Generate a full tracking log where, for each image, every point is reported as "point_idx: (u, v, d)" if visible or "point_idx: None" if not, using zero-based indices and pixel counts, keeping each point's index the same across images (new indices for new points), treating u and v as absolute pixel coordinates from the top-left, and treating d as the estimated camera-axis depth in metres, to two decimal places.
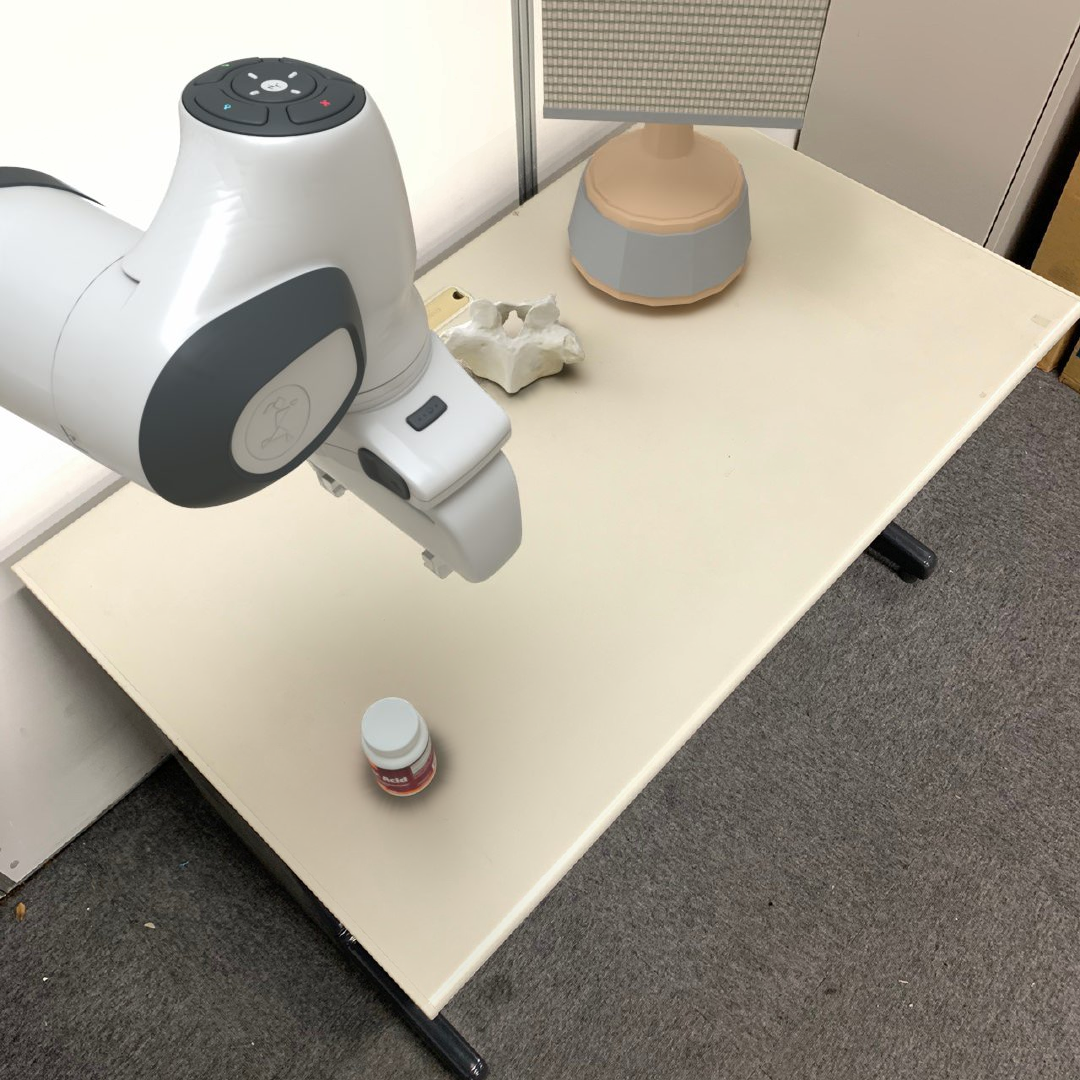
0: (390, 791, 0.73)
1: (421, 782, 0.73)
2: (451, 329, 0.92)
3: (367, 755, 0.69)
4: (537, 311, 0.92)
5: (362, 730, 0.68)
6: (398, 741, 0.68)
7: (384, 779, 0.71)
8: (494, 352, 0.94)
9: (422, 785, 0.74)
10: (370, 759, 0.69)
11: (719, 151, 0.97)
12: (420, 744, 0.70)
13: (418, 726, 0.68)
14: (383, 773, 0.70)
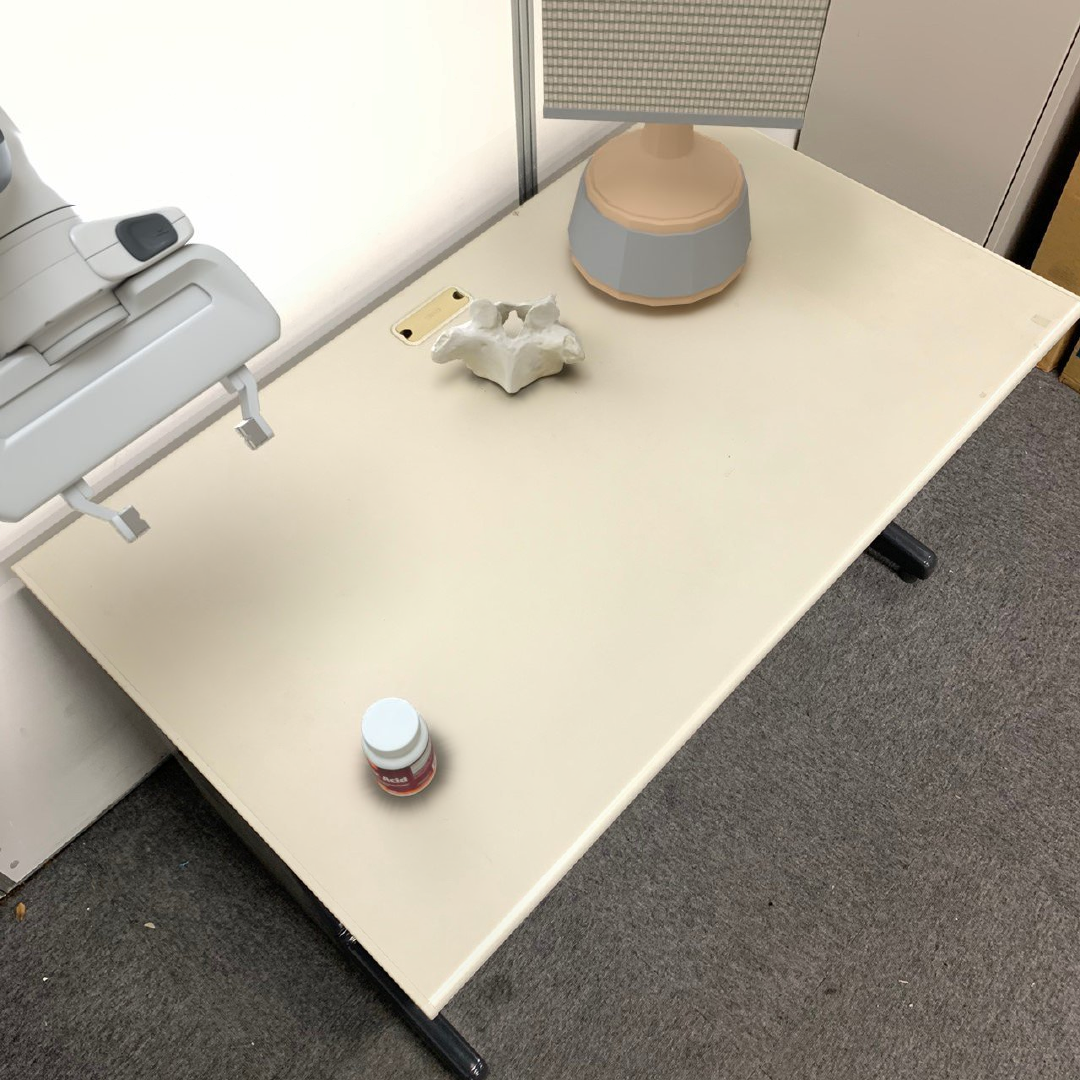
0: (390, 791, 0.73)
1: (421, 782, 0.73)
2: (451, 329, 0.92)
3: (367, 755, 0.69)
4: (537, 311, 0.92)
5: (362, 730, 0.68)
6: (398, 741, 0.68)
7: (384, 779, 0.71)
8: (494, 352, 0.94)
9: (422, 785, 0.74)
10: (370, 759, 0.69)
11: (719, 151, 0.97)
12: (420, 744, 0.70)
13: (418, 726, 0.68)
14: (383, 773, 0.70)
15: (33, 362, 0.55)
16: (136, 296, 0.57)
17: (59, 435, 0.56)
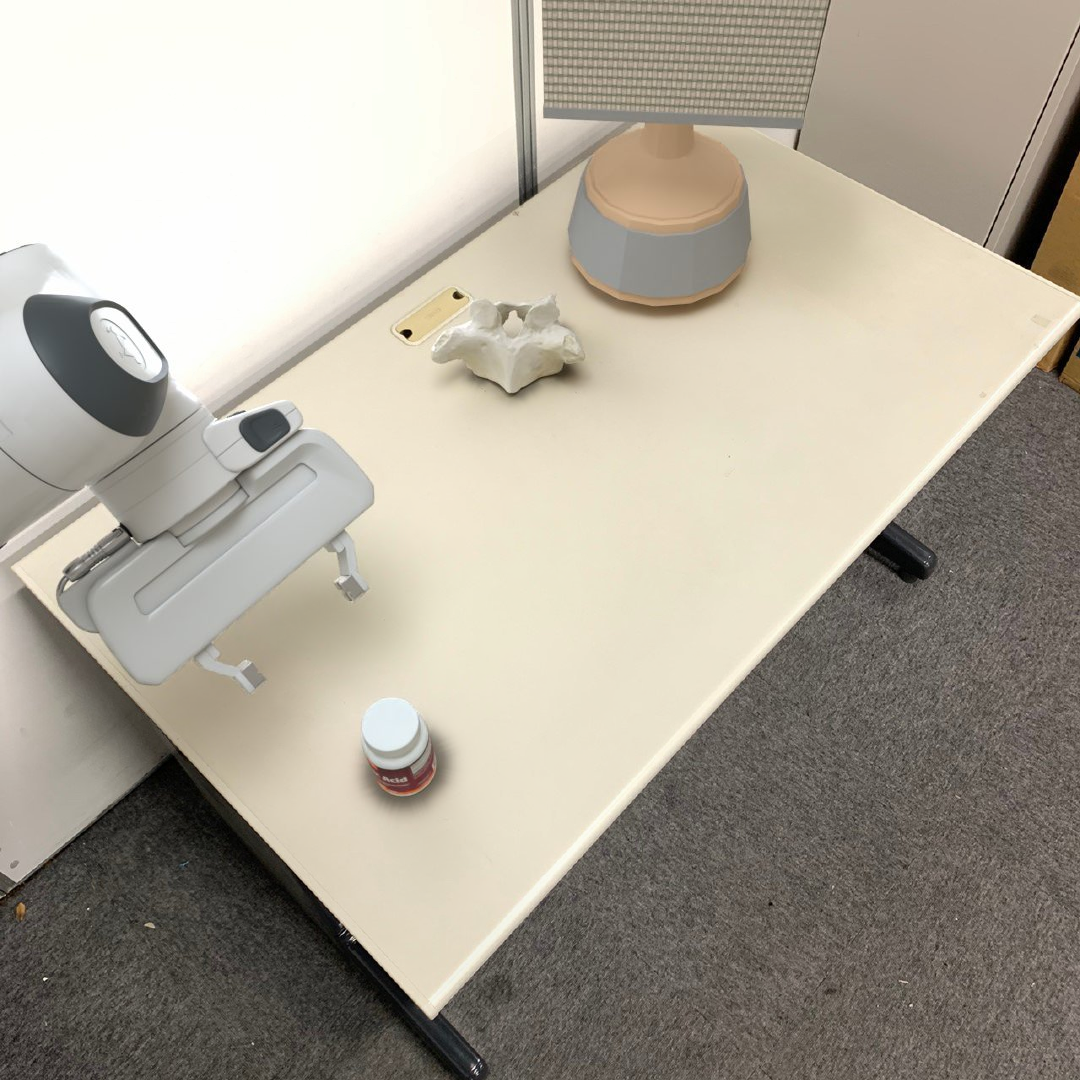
0: (390, 791, 0.73)
1: (421, 782, 0.73)
2: (451, 329, 0.92)
3: (367, 755, 0.69)
4: (537, 311, 0.92)
5: (362, 730, 0.68)
6: (399, 741, 0.68)
7: (384, 779, 0.71)
8: (494, 352, 0.94)
9: (422, 785, 0.74)
10: (370, 759, 0.69)
11: (719, 151, 0.97)
12: (420, 744, 0.70)
13: (418, 726, 0.68)
14: (383, 773, 0.70)
15: (170, 546, 0.63)
16: (255, 481, 0.65)
17: (192, 607, 0.63)
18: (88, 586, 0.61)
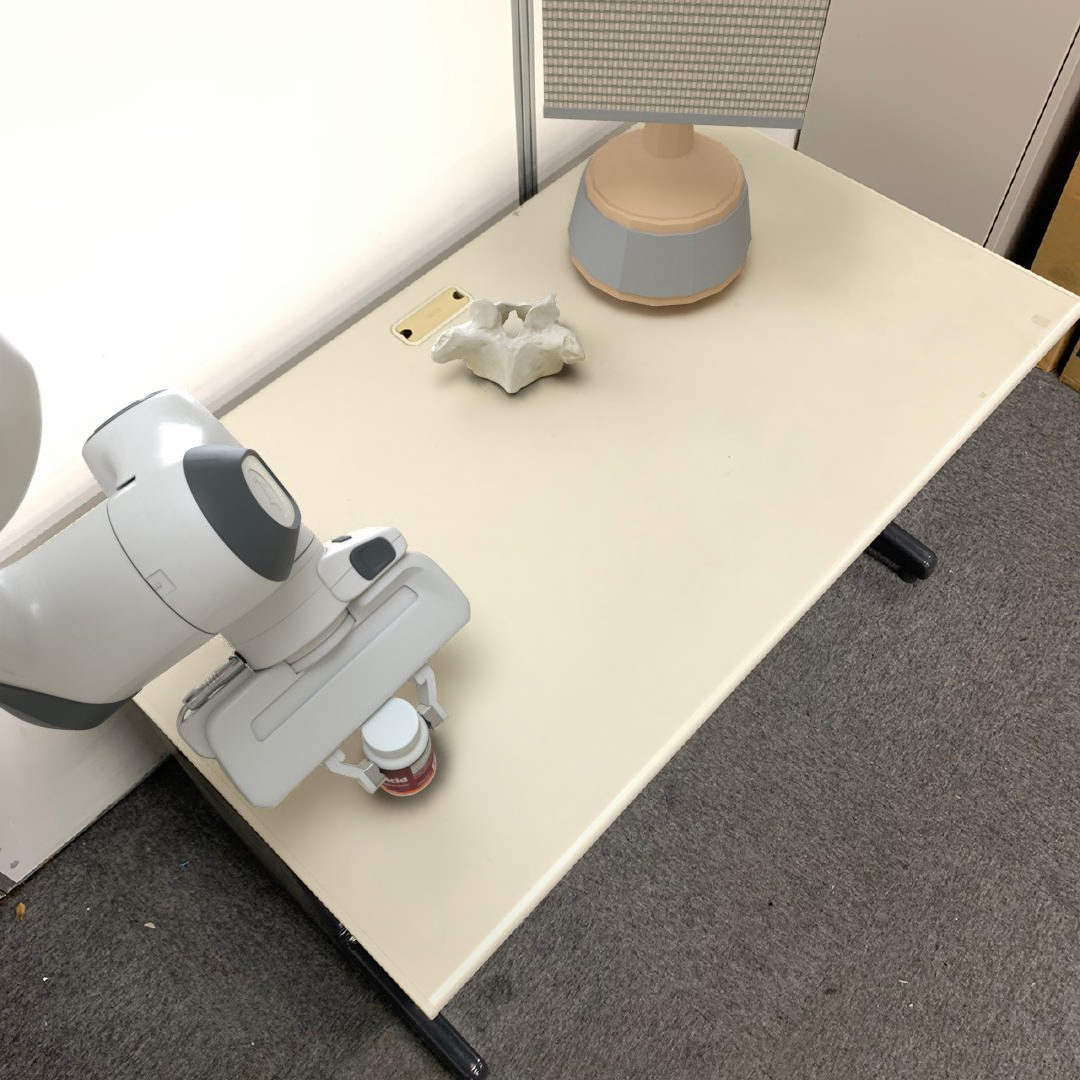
0: (390, 791, 0.73)
1: (421, 782, 0.73)
2: (451, 329, 0.92)
3: (367, 755, 0.69)
4: (537, 311, 0.92)
5: (362, 730, 0.68)
6: (399, 741, 0.68)
7: None
8: (494, 352, 0.94)
9: (422, 785, 0.74)
10: (370, 759, 0.69)
11: (719, 151, 0.97)
12: (420, 744, 0.70)
13: (418, 726, 0.68)
14: (383, 773, 0.70)
15: (284, 673, 0.65)
16: (363, 607, 0.67)
17: (304, 731, 0.65)
18: (206, 714, 0.64)
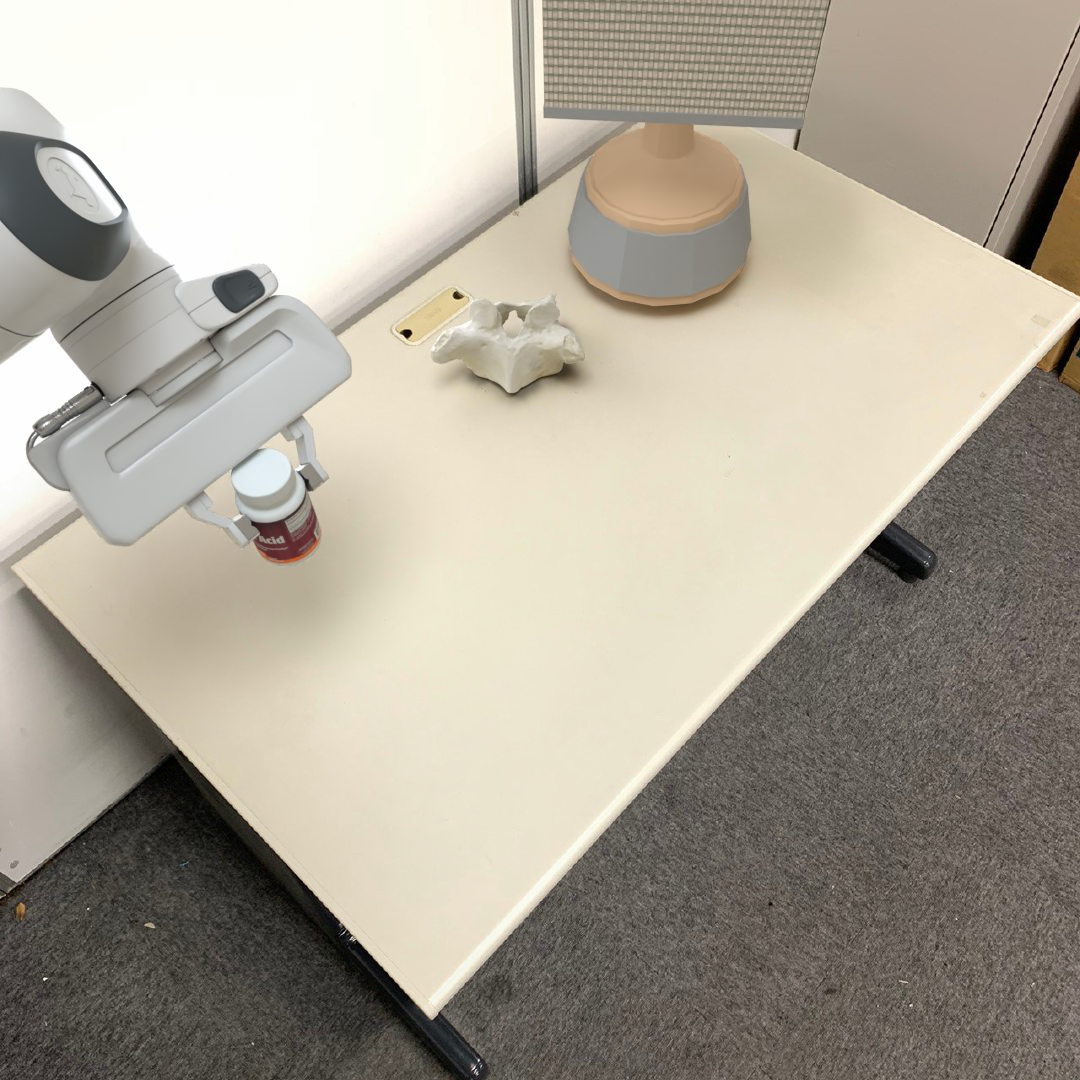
0: (271, 559, 0.71)
1: (303, 549, 0.70)
2: (451, 329, 0.92)
3: (239, 508, 0.67)
4: (537, 311, 0.92)
5: (231, 478, 0.65)
6: (269, 487, 0.65)
7: (261, 540, 0.69)
8: (494, 352, 0.94)
9: (304, 554, 0.71)
10: (242, 512, 0.67)
11: (719, 151, 0.97)
12: (295, 498, 0.67)
13: (290, 475, 0.66)
14: None
15: (142, 404, 0.62)
16: (229, 343, 0.64)
17: (164, 468, 0.63)
18: (58, 442, 0.61)
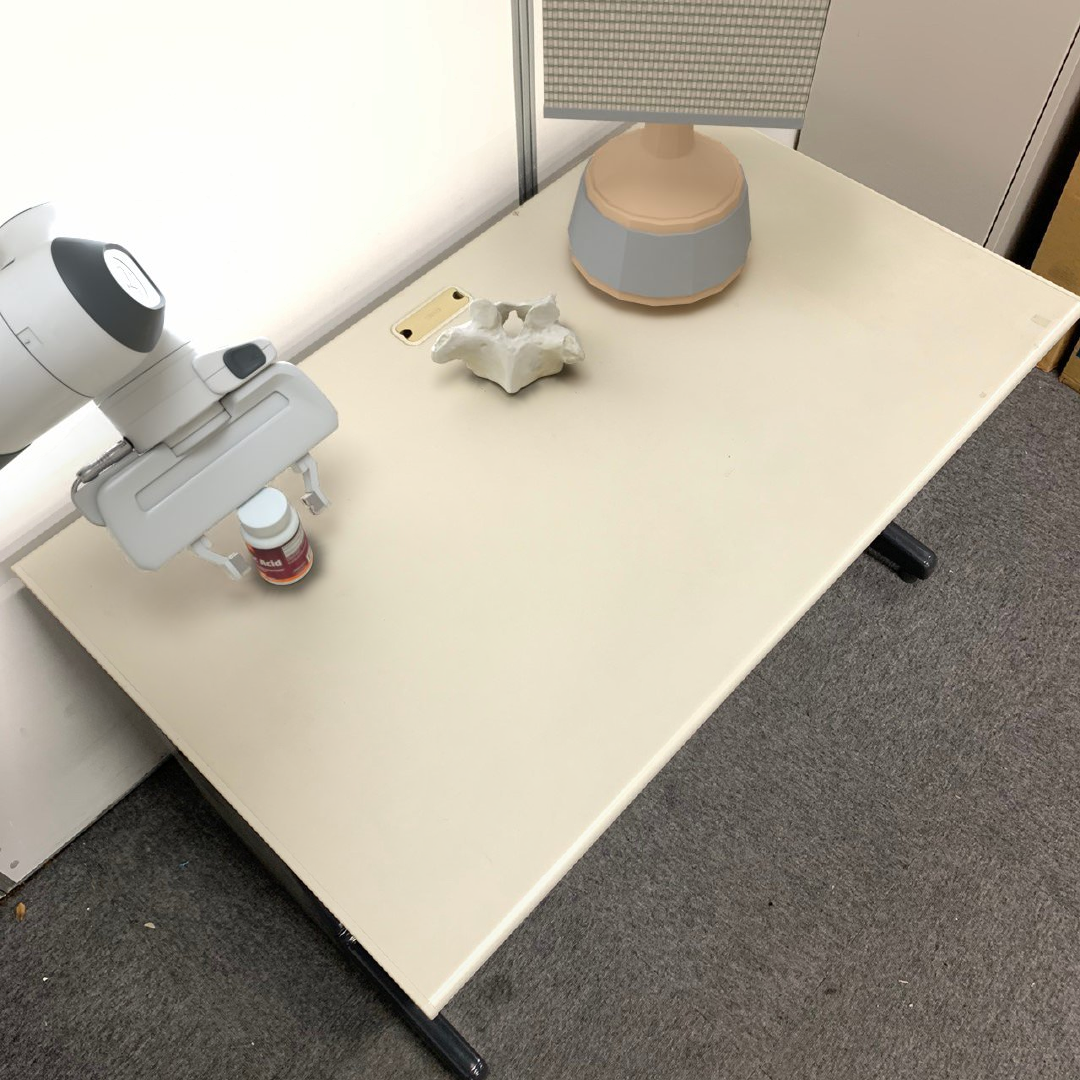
0: (270, 579, 0.84)
1: (297, 570, 0.84)
2: (451, 329, 0.92)
3: (244, 537, 0.80)
4: (537, 311, 0.92)
5: (237, 512, 0.79)
6: (268, 520, 0.78)
7: (261, 563, 0.82)
8: (494, 352, 0.94)
9: (298, 574, 0.84)
10: (246, 540, 0.80)
11: (719, 151, 0.97)
12: (290, 528, 0.80)
13: (286, 509, 0.79)
14: (259, 554, 0.81)
15: (165, 455, 0.75)
16: (237, 404, 0.77)
17: (183, 507, 0.76)
18: (97, 487, 0.74)
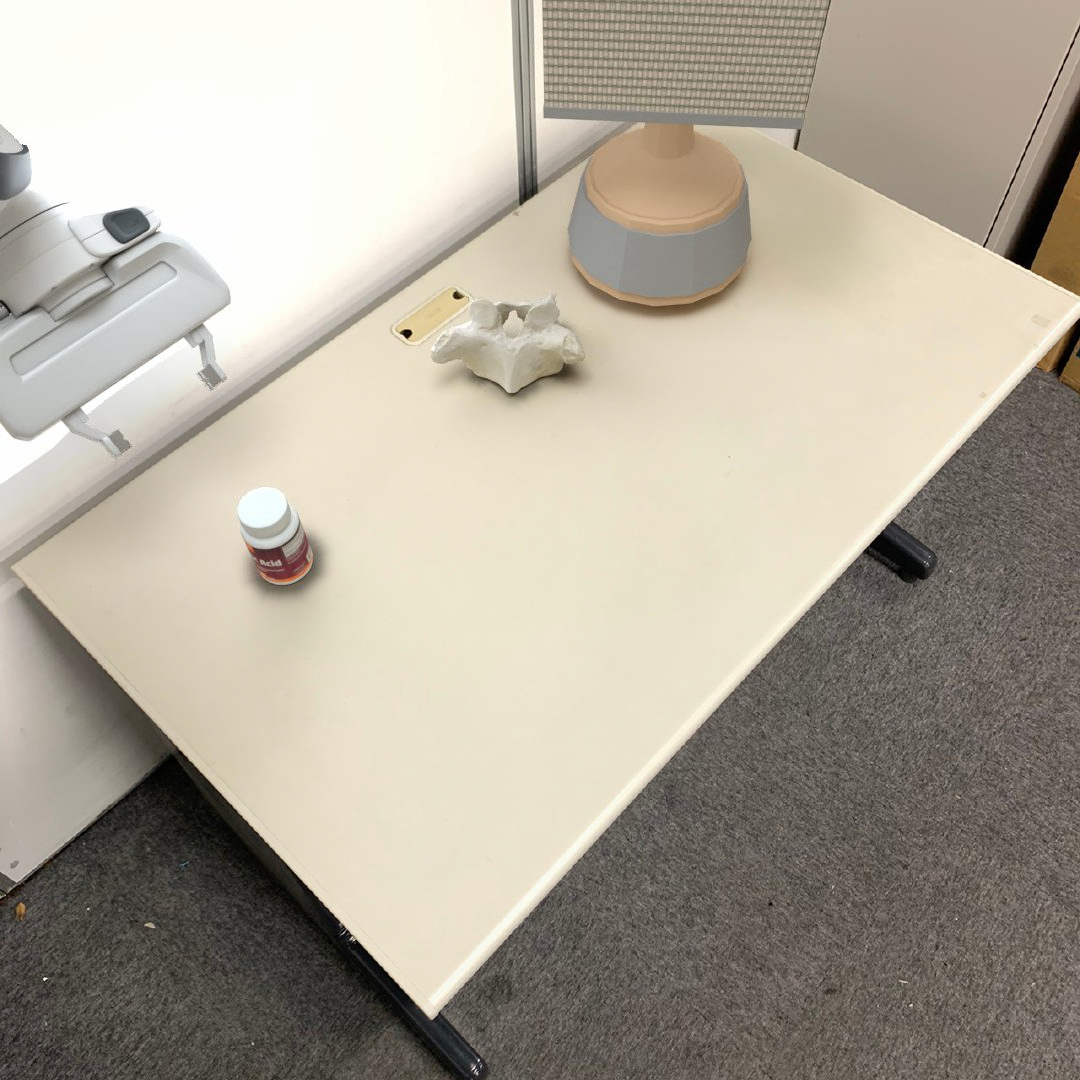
0: (270, 579, 0.84)
1: (297, 570, 0.84)
2: (451, 329, 0.92)
3: (244, 537, 0.80)
4: (537, 311, 0.92)
5: (237, 512, 0.79)
6: (268, 520, 0.78)
7: (261, 563, 0.82)
8: (494, 352, 0.94)
9: (298, 574, 0.84)
10: (246, 540, 0.80)
11: (719, 151, 0.97)
12: (290, 528, 0.80)
13: (286, 509, 0.79)
14: (259, 554, 0.81)
15: (42, 319, 0.74)
16: (119, 270, 0.76)
17: (62, 373, 0.74)
18: None
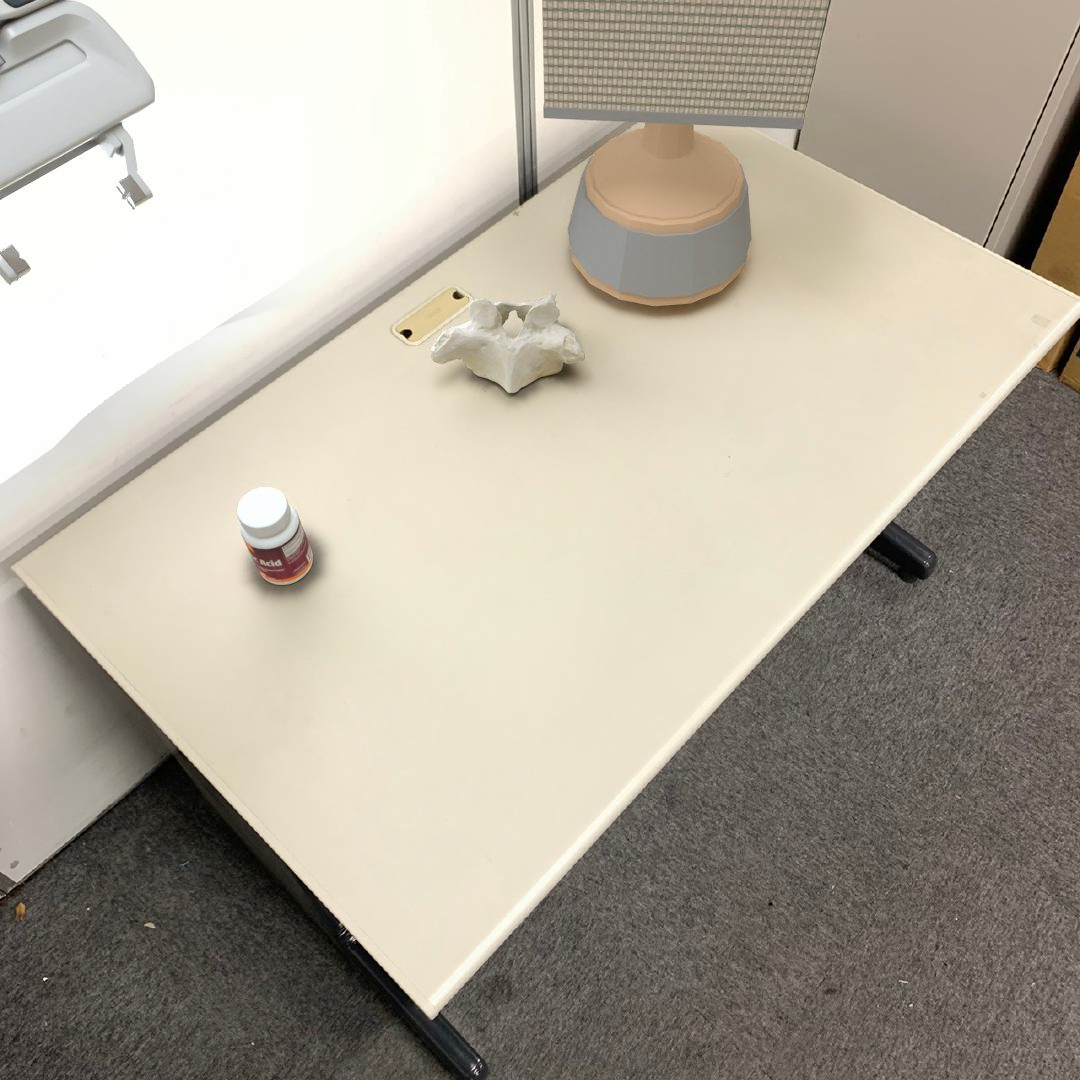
0: (270, 579, 0.84)
1: (297, 570, 0.84)
2: (451, 329, 0.92)
3: (244, 537, 0.80)
4: (537, 311, 0.92)
5: (237, 512, 0.79)
6: (268, 520, 0.78)
7: (261, 563, 0.82)
8: (494, 352, 0.94)
9: (298, 574, 0.84)
10: (246, 540, 0.80)
11: (719, 151, 0.97)
12: (290, 528, 0.80)
13: (286, 509, 0.79)
14: (259, 554, 0.81)
15: None
16: (10, 42, 0.61)
17: None
18: None
